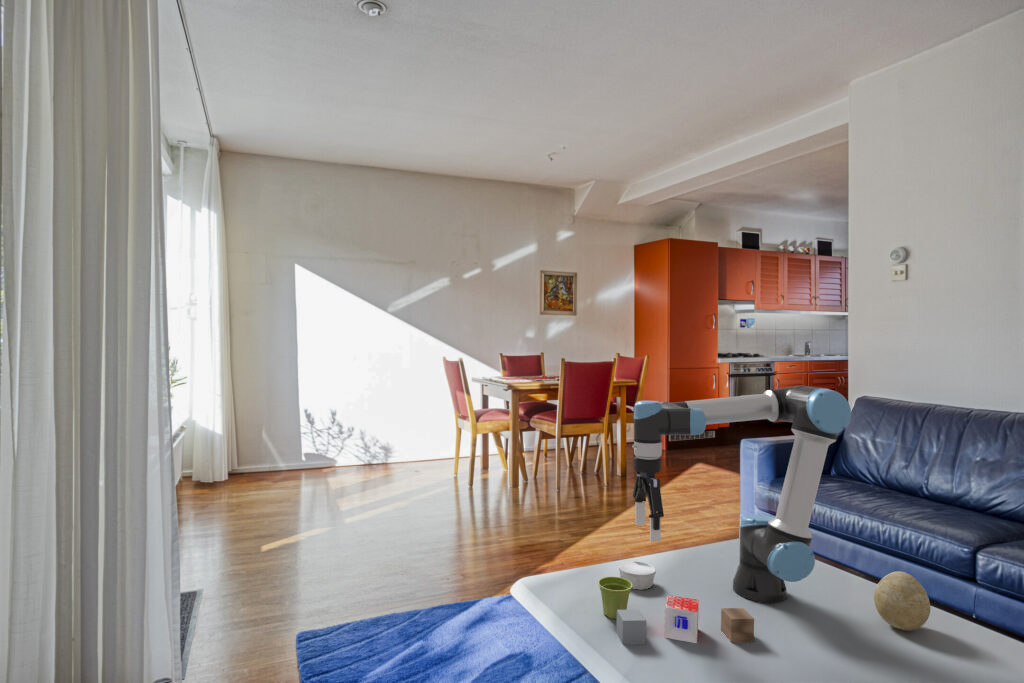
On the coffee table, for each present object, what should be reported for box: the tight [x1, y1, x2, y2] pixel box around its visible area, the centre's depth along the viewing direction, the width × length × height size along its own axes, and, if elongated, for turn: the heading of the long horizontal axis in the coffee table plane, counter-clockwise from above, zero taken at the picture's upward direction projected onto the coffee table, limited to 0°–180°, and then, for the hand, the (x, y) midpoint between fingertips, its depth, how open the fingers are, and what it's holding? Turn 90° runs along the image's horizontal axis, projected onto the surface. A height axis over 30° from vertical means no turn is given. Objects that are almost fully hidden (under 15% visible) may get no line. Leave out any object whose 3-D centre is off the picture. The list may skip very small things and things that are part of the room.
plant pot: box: [597, 576, 633, 620], centre depth 166 cm, size 9×9×9 cm
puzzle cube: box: [664, 594, 700, 644], centre depth 156 cm, size 8×8×8 cm
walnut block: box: [720, 607, 755, 643], centre depth 155 cm, size 6×6×6 cm
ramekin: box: [618, 560, 657, 591], centre depth 186 cm, size 11×11×5 cm
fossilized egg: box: [873, 570, 931, 631], centre depth 161 cm, size 13×13×15 cm
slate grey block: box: [615, 609, 647, 645], centre depth 153 cm, size 6×6×6 cm
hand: (647, 532), depth 167 cm, fingers open, 13 cm apart
